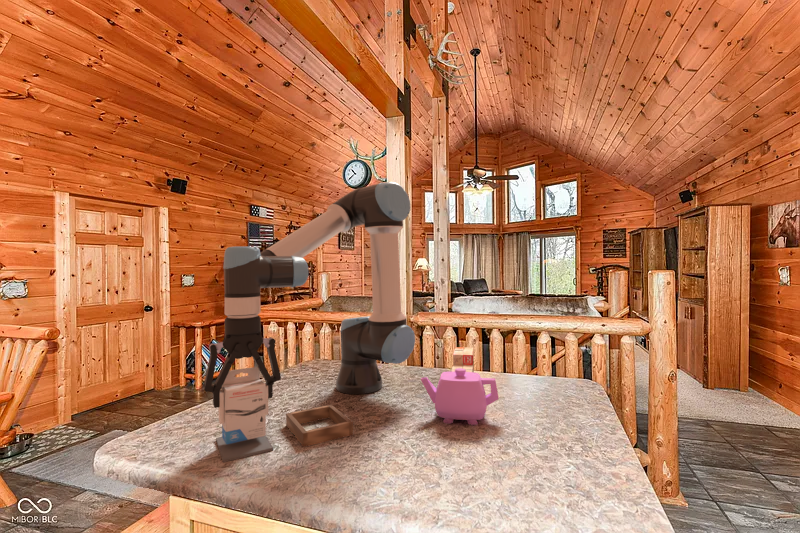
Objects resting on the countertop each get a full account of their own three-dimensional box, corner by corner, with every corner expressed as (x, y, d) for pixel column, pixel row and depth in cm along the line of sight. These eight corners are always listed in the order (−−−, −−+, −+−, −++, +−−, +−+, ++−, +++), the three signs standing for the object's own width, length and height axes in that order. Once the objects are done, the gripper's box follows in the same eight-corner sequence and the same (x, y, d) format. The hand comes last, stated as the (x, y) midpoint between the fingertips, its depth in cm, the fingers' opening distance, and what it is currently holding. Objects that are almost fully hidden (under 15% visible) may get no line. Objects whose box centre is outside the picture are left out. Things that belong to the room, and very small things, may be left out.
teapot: (497, 411, 108) (496, 364, 108) (500, 429, 96) (500, 377, 96) (424, 407, 111) (423, 362, 111) (418, 424, 99) (418, 374, 99)
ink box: (225, 445, 84) (224, 376, 84) (221, 437, 88) (220, 371, 88) (266, 435, 89) (265, 370, 89) (261, 428, 93) (260, 365, 93)
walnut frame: (331, 415, 105) (331, 404, 105) (353, 434, 93) (353, 422, 93) (286, 425, 99) (286, 413, 99) (303, 447, 87) (303, 433, 87)
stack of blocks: (472, 404, 113) (472, 361, 113) (450, 403, 115) (450, 361, 115) (474, 383, 134) (473, 346, 134) (455, 382, 136) (455, 346, 136)
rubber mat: (261, 430, 96) (261, 428, 96) (273, 450, 86) (273, 447, 86) (216, 440, 91) (216, 437, 91) (223, 462, 81) (223, 459, 81)
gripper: (286, 311, 97) (287, 403, 97) (187, 317, 86) (188, 421, 86) (295, 314, 91) (296, 412, 91) (189, 321, 80) (191, 433, 80)
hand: (243, 416), depth 89 cm, fingers closed on ink box, 9 cm apart
